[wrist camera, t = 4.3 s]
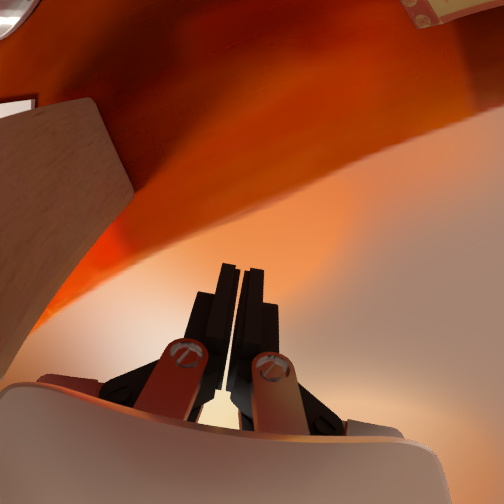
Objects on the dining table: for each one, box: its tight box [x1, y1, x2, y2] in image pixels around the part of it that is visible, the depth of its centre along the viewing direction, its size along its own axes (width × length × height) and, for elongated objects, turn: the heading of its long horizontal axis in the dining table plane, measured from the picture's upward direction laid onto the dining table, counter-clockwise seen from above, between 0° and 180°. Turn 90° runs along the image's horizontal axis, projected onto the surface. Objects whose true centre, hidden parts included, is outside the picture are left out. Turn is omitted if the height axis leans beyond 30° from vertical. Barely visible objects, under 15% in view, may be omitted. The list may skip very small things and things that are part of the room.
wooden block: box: [0, 97, 134, 381], centre depth 14 cm, size 10×10×20 cm
